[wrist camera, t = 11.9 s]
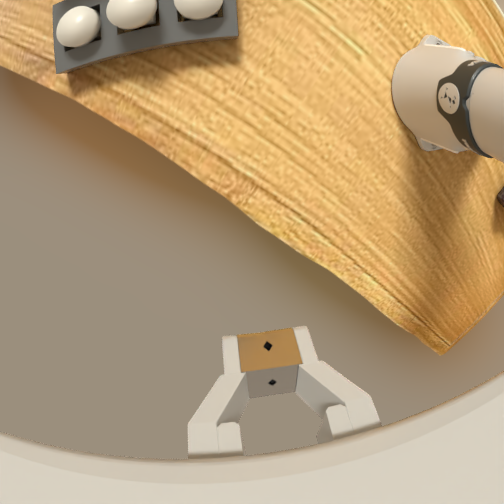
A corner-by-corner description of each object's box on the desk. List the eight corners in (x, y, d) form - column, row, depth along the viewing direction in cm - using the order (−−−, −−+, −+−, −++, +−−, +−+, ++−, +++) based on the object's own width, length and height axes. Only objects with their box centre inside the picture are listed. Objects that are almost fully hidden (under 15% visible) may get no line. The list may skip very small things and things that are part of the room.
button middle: (160, -10, 23) (153, -20, 19) (162, 27, 25) (155, 21, 22) (117, 0, 22) (105, -8, 19) (119, 36, 25) (107, 32, 21)
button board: (232, -29, 23) (233, -37, 21) (236, 38, 29) (238, 35, 26) (63, 8, 22) (52, 5, 19) (66, 73, 27) (56, 73, 25)
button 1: (107, 6, 23) (95, 0, 20) (109, 41, 26) (96, 38, 23) (71, 19, 23) (55, 15, 19) (73, 53, 26) (57, 52, 22)
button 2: (221, -14, 24) (222, -25, 21) (223, 21, 27) (224, 14, 23) (177, -9, 24) (172, -19, 20) (179, 26, 27) (174, 20, 23)
